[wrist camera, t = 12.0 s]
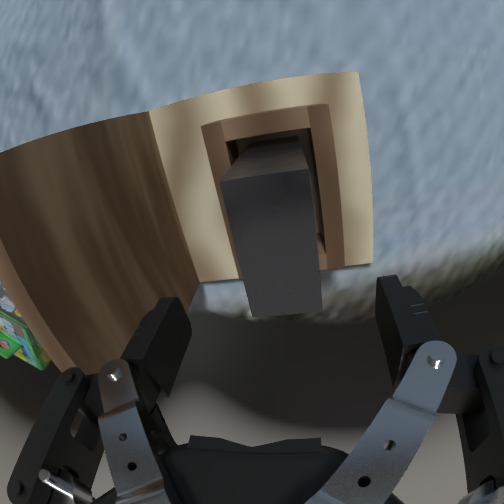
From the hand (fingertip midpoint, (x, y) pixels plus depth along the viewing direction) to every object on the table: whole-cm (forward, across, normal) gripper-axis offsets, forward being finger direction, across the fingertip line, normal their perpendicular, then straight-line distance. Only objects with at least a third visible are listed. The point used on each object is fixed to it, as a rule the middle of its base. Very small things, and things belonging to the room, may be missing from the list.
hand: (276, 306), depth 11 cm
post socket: (+17, +3, 0) cm, 17 cm away
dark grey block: (+16, 0, 0) cm, 16 cm away
